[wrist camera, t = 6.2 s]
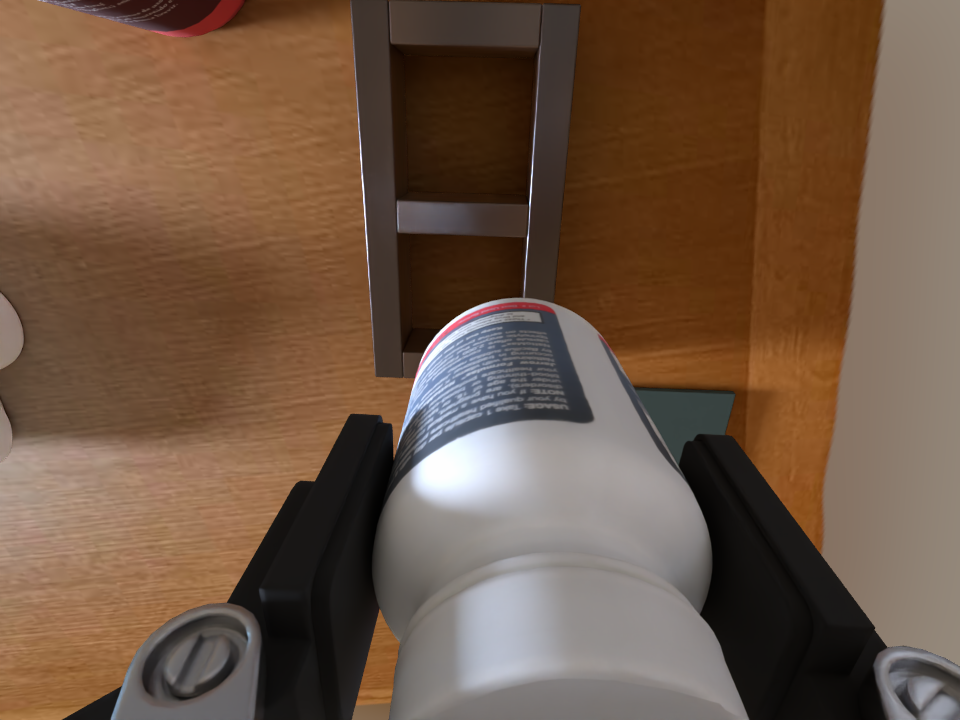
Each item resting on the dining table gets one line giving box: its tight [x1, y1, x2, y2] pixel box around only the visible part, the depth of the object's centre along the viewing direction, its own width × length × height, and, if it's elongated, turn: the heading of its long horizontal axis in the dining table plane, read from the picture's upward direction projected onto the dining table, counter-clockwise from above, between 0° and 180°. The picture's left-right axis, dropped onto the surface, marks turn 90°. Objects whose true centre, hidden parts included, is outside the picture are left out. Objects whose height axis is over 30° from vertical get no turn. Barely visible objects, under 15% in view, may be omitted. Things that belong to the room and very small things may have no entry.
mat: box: [634, 387, 735, 466], centre depth 32 cm, size 18×10×1 cm, turn 89°
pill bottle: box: [372, 298, 749, 720], centre depth 9 cm, size 5×5×9 cm
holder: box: [350, 0, 581, 378], centre depth 25 cm, size 9×16×4 cm, turn 178°
